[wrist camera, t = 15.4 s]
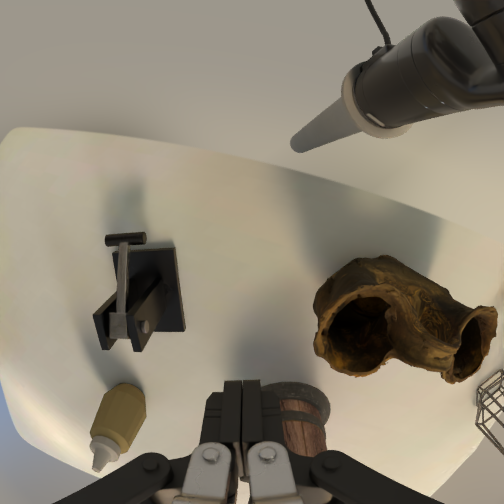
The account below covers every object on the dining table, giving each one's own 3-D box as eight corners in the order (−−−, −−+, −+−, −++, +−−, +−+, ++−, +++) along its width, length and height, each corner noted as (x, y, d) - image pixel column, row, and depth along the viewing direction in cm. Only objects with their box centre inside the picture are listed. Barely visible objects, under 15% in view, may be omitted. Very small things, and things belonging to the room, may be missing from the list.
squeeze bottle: (138, 417, 48) (110, 490, 31) (102, 392, 47) (63, 461, 29) (160, 397, 47) (132, 477, 29) (122, 369, 45) (80, 444, 28)
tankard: (263, 368, 45) (271, 472, 26) (348, 397, 47) (383, 486, 28) (205, 448, 50) (195, 532, 31) (280, 468, 52) (288, 546, 33)
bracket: (115, 250, 40) (69, 280, 28) (175, 247, 40) (145, 279, 28) (129, 327, 43) (96, 375, 31) (185, 327, 43) (166, 381, 31)
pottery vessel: (280, 302, 42) (301, 396, 23) (303, 227, 40) (352, 277, 21) (420, 331, 44) (486, 402, 25) (446, 271, 42) (529, 323, 22)
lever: (111, 237, 35) (103, 231, 33) (148, 235, 35) (141, 228, 33) (108, 338, 32) (98, 337, 30) (146, 339, 32) (139, 339, 30)
